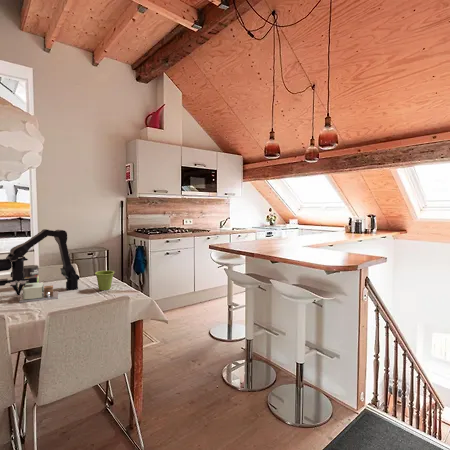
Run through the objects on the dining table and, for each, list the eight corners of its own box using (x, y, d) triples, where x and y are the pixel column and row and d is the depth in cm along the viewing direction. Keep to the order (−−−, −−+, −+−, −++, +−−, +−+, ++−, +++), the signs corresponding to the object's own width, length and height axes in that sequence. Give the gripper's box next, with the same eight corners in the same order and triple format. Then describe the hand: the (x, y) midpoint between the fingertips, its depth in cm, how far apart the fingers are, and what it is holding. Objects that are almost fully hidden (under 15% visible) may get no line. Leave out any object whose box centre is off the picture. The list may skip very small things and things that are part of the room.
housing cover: (43, 291, 187) (43, 282, 187) (42, 297, 176) (41, 287, 175) (26, 293, 183) (25, 283, 183) (23, 299, 172) (23, 288, 171)
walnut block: (53, 293, 186) (53, 285, 186) (52, 295, 182) (52, 287, 182) (44, 294, 184) (44, 286, 183) (44, 296, 180) (43, 288, 179)
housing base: (58, 292, 191) (58, 287, 191) (57, 298, 179) (57, 292, 179) (22, 296, 182) (22, 290, 182) (19, 302, 171) (19, 296, 170)
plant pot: (98, 293, 192) (98, 275, 191) (92, 288, 201) (92, 272, 200) (117, 289, 200) (117, 272, 199) (110, 286, 209) (110, 269, 208)
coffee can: (42, 286, 205) (42, 265, 204) (30, 290, 195) (29, 268, 194) (29, 285, 207) (29, 264, 206) (16, 289, 197) (16, 267, 196)
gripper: (38, 265, 186) (38, 290, 187) (0, 267, 178) (1, 293, 179) (36, 268, 176) (37, 295, 177) (-4, 271, 168) (-3, 299, 169)
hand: (18, 295), depth 176 cm, fingers closed
